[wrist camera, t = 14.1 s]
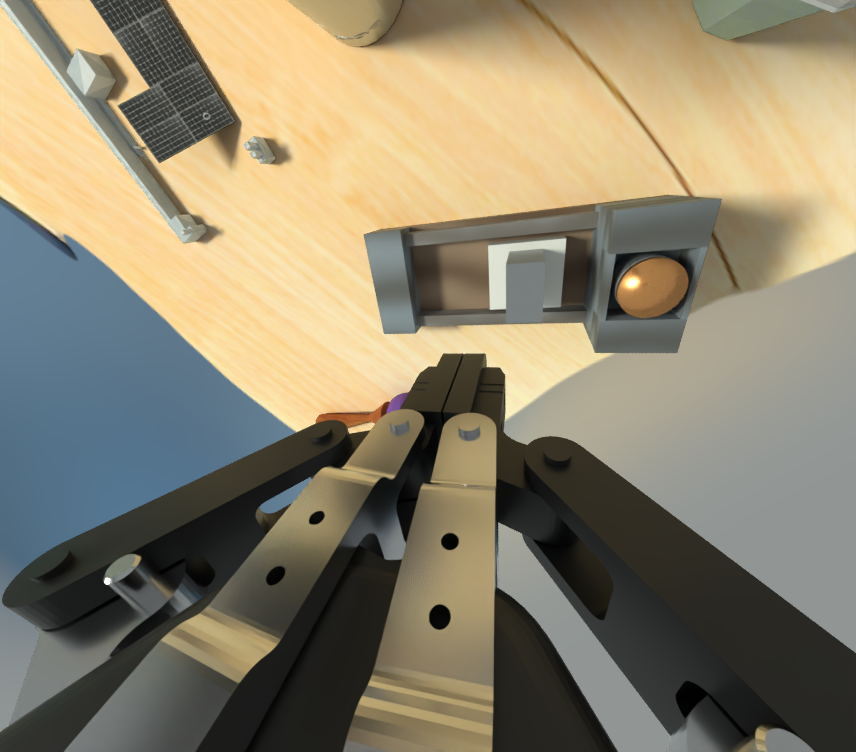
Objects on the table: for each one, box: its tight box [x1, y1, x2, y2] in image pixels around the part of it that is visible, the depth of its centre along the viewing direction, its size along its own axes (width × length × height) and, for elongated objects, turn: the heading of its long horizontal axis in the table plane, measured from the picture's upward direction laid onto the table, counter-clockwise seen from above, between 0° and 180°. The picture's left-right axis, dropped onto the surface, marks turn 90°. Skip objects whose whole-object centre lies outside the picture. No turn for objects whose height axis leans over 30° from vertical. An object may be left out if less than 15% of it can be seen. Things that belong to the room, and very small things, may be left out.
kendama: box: [316, 392, 409, 428], centre depth 49 cm, size 6×6×20 cm
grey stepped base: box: [364, 195, 722, 353], centre depth 31 cm, size 11×28×10 cm, turn 97°
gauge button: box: [610, 251, 688, 318], centre depth 25 cm, size 4×4×4 cm
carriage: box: [488, 236, 566, 323], centre depth 29 cm, size 6×7×8 cm
